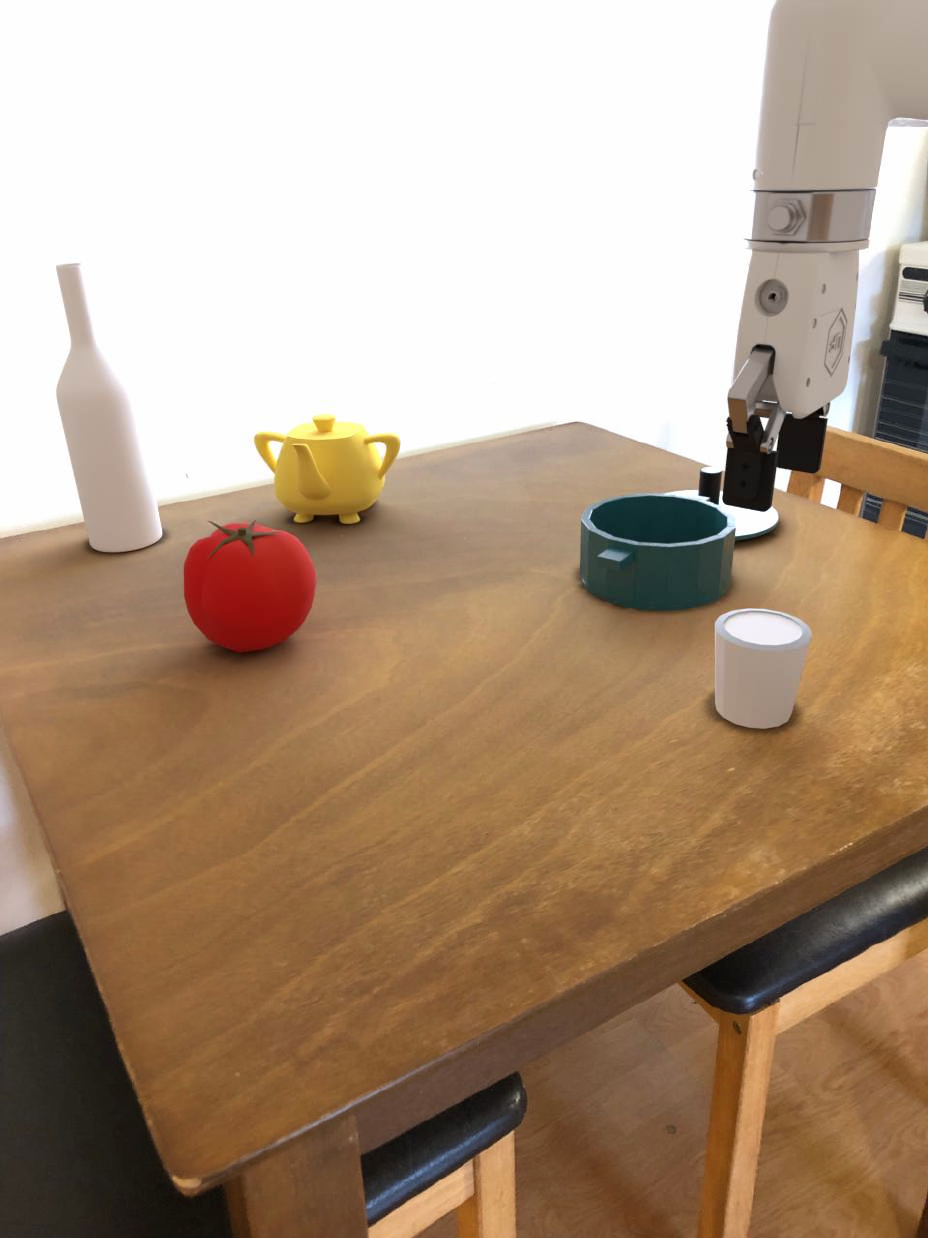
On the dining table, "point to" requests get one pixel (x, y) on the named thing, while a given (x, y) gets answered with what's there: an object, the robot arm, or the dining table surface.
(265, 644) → the tomato
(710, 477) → the lid
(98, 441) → the bottle
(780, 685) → the white cup
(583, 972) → the dining table surface
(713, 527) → the pot
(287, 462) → the teapot
